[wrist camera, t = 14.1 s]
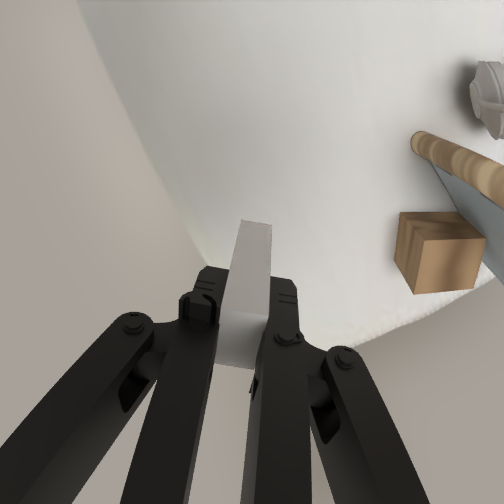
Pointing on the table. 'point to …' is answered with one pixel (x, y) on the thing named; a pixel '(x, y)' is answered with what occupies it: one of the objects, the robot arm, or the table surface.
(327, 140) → the table surface
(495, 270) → the door
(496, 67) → the headphones
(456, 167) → the brown long wooden part
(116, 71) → the table surface
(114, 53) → the table surface
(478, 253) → the walnut block
